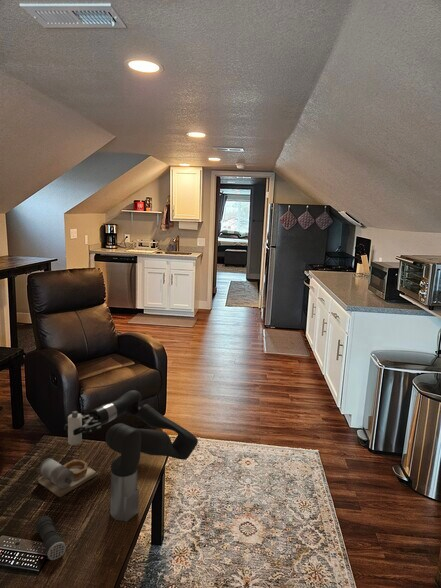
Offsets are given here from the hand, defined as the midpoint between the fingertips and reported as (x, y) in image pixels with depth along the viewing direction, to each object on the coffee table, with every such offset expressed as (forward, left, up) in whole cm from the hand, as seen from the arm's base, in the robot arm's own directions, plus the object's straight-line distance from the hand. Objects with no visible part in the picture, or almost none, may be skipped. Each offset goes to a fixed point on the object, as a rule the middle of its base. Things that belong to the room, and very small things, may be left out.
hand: (69, 430), depth 161 cm
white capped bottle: (0, -3, -6) cm, 7 cm away
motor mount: (0, +1, -21) cm, 21 cm away
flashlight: (-23, +24, -21) cm, 40 cm away
